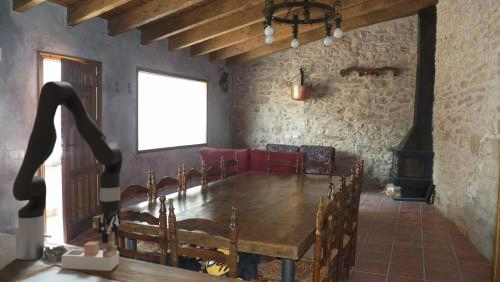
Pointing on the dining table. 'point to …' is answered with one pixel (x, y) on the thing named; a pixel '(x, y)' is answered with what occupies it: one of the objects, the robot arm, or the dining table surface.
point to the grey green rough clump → (55, 253)
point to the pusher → (110, 245)
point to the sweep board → (89, 260)
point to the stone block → (91, 248)
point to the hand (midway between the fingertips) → (110, 239)
